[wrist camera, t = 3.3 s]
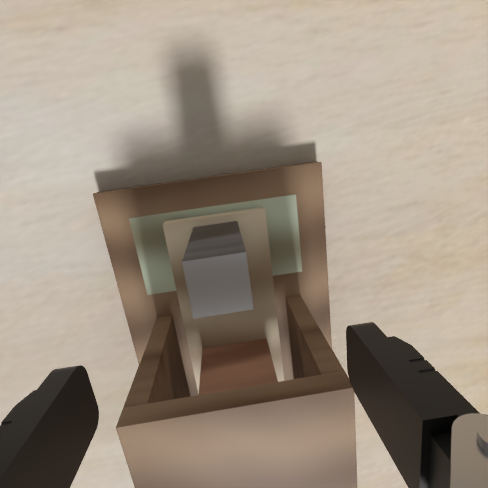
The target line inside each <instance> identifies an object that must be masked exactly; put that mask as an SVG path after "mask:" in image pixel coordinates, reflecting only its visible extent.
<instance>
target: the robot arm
mask: <svg viewBox="0 0 488 488" xmlns="http://www.w3.org/2000/svg"><path fill="white" fill-rule="evenodd" d="M346 341H347V368H348V375H349V379H350V382H351V385H352V388H353V390H354V392H355V394H356V395H357V397H358V399H359V401H360V402H361V404H362V406H363V408H364V410H365V411H366V413H367V415H368V417H369V418H370V420H371V422H372V424H373V425H374V427H375V429H376V431H377V433H378V434H379V436H380V438H381V440H382V441H383V443H384V445H385V447H386V448H387V450H388V452H389V454H390V456H391V457H392V459H393V461H394V463H395V464H396V466H397V468H398V470H399V472H400V473H401V475H402V477H403V479H404V480H405V482H406V484H407V486H408V487H409V488H488V415H486V414H480V413H479V412H478V411H477V410H476V409H475V408H474V407H473V406H472V405H471V404H470V403H469V402H468V401H467V400H466V399H465V398H464V397H463V396H462V395H461V394H460V393H459V392H458V391H457V390H456V389H455V388H454V387H453V386H452V385H451V384H450V383H449V382H448V381H447V380H446V379H445V378H444V377H443V376H442V375H441V374H440V373H439V372H438V371H435V368H434V367H433V366H432V365H431V364H430V363H429V362H428V361H427V360H424V357H423V356H422V355H421V354H420V353H419V352H418V351H417V350H416V349H415V348H414V347H413V346H412V345H410V344H408V343H406V342H404V341H402V340H401V339H399V338H397V337H395V336H393V337H387V336H386V335H385V334H384V333H383V332H382V331H381V330H380V329H379V328H378V327H377V325H376V324H374V323H373V322H370V323H364V324H357V325H351V326H348V327H347V329H346ZM98 419H99V410H98V405H97V402H96V399H95V396H94V393H93V390H92V386H91V383H90V380H89V377H88V374H87V371H86V369H85V368H84V367H83V366H74V367H68V368H61V369H55V370H53V371H52V372H51V373H50V374H49V375H48V376H47V378H46V379H45V380H44V382H43V383H42V384H41V385H40V387H39V388H38V389H37V390H35V391H33V392H32V393H30V394H29V395H28V396H27V397H25V398H24V399H23V400H22V401H21V402H19V403H18V404H17V405H16V406H15V407H14V408H13V409H12V410H11V411H10V413H9V414H8V415H7V416H6V418H5V419H4V420H3V421H2V422H1V423H2V424H1V426H0V488H70V486H71V484H72V482H73V480H74V477H75V475H76V473H77V471H78V469H79V466H80V464H81V462H82V460H83V458H84V455H85V453H86V451H87V449H88V447H89V444H90V442H91V440H92V438H93V436H94V433H95V431H96V429H97V425H98Z"/></svg>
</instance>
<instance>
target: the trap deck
mask: <svg viewBox="0 0 488 488" xmlns="http://www.w3.org/2000/svg"><path fill="white" fill-rule="evenodd" d="M93 196H94V200H95V204H96V207H97V211H98V215H99V219H100V222H101V226H102V230H103V233H104V237H105V241H106V244H107V248H108V252H109V255H110V259H111V263H112V267H113V270H114V274H115V278H116V281H117V285H118V289H119V292H120V296H121V300H122V303H123V307H124V311H125V315H126V318H127V322H128V326H129V329H130V333H131V337H132V340H133V344H134V348H135V351H136V355H137V359H138V363H139V367H138V370H137V373H136V375H135V378H134V381H133V383H132V386H131V389H130V391H129V394H128V397H127V399H126V402H125V405H124V407H123V410H122V413H121V416H120V418H119V421H118V424H117V426H116V430H117V433H118V436H119V439H120V442H121V445H122V449H123V452H124V455H125V458H126V461H127V464H128V467H129V470H130V474H131V477H132V480H133V483H134V486H135V488H357V463H356V433H355V403H354V390H353V388H352V385H351V382H350V380H349V378H348V376H347V375H346V373H345V371H344V369H343V368H342V366H341V364H340V363H339V361H338V359H337V357H336V356H335V354H334V352H333V350H332V344H331V326H330V308H329V290H328V272H327V254H326V236H325V218H324V200H323V182H322V164H321V162H311V163H303V164H296V165H289V166H282V167H275V168H267V169H260V170H253V171H246V172H239V173H231V174H224V175H217V176H210V177H203V178H195V179H188V180H181V181H174V182H167V183H159V184H152V185H145V186H138V187H131V188H123V189H116V190H109V191H102V192H97V193H94V194H93ZM260 207H264V209H265V211H266V220H267V229H268V238H269V247H270V256H271V265H272V274H273V283H274V292H275V301H276V310H277V319H278V328H279V337H280V346H281V355H282V364H283V373H284V381H280V382H274V383H268V384H262V385H256V386H250V387H244V388H238V389H232V390H226V391H220V392H214V393H209V394H203V395H198V390H197V385H196V380H195V376H194V371H193V366H192V361H191V357H190V352H189V347H188V343H187V338H186V333H185V328H184V324H183V319H182V314H181V310H180V305H179V300H178V295H177V291H176V286H175V281H174V277H173V272H172V267H171V262H170V258H169V253H168V248H167V243H166V239H165V234H164V229H163V225H162V224H163V223H164V222H165V221H169V220H176V219H183V218H190V217H197V216H204V215H211V214H218V213H225V212H232V211H239V210H246V209H253V208H260Z"/></svg>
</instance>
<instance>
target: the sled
mask: <svg viewBox="0 0 488 488" xmlns="http://www.w3.org/2000/svg"><path fill="white" fill-rule="evenodd" d="M162 225H163V229H164V234H165V239H166V243H167V248H168V253H169V258H170V262H171V267H172V272H173V277H174V281H175V286H176V291H177V295H178V300H179V305H180V310H181V314H182V319H183V324H184V328H185V333H186V338H187V343H188V347H189V352H190V357H191V361H192V366H193V371H194V376H195V380H196V385H197V390H198V395H203V394H209V393H214V392H220V391H226V390H232V389H238V388H244V387H250V386H256V385H262V384H268V383H274V382H280V381H284V373H283V364H282V355H281V346H280V337H279V328H278V319H277V310H276V301H275V292H274V283H273V274H272V265H271V256H270V247H269V238H268V229H267V220H266V211H265V209H264V207H260V208H253V209H246V210H239V211H232V212H225V213H218V214H211V215H204V216H197V217H190V218H183V219H176V220H169V221H165V222H164V223H163V224H162Z"/></svg>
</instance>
